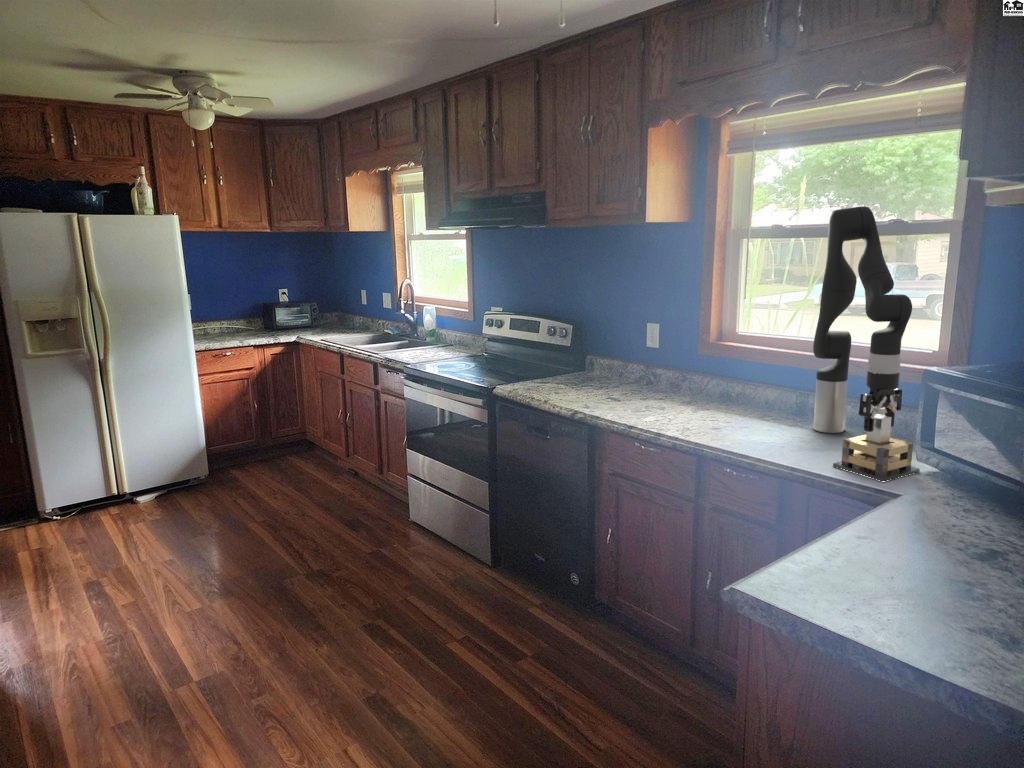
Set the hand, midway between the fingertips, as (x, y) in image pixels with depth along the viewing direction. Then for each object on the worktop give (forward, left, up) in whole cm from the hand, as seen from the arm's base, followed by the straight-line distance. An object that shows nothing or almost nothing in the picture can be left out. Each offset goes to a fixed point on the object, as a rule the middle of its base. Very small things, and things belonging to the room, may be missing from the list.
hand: (878, 428), depth 179 cm
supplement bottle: (-18, -12, -12) cm, 25 cm away
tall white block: (0, 0, -11) cm, 11 cm away
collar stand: (0, 0, -12) cm, 12 cm away
